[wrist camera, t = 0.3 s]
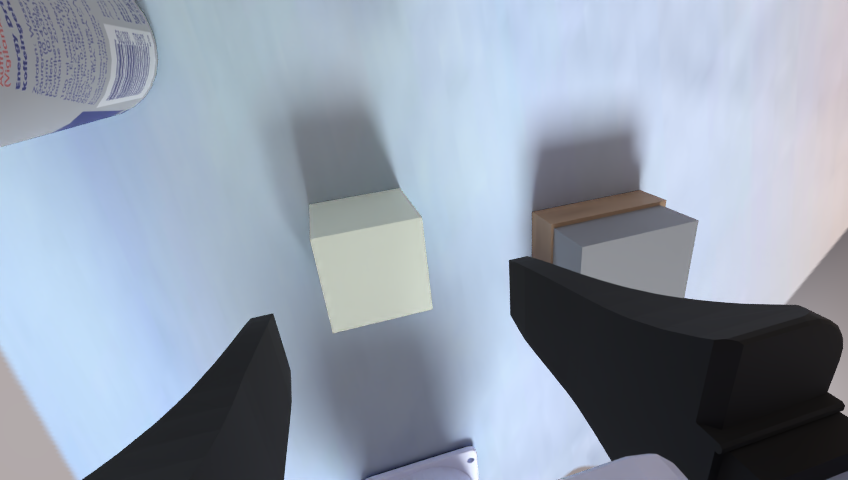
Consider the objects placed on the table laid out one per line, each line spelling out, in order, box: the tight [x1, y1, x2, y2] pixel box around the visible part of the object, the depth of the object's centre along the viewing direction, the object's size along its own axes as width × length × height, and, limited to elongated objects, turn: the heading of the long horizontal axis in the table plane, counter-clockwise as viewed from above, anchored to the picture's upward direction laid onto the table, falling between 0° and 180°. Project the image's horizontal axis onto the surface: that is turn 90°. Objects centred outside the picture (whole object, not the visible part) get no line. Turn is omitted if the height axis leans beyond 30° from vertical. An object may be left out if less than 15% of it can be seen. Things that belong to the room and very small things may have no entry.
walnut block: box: [532, 190, 666, 264], centre depth 25 cm, size 7×7×2 cm
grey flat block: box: [553, 205, 698, 298], centre depth 23 cm, size 6×6×2 cm
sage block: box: [309, 188, 433, 333], centre depth 19 cm, size 4×4×4 cm
